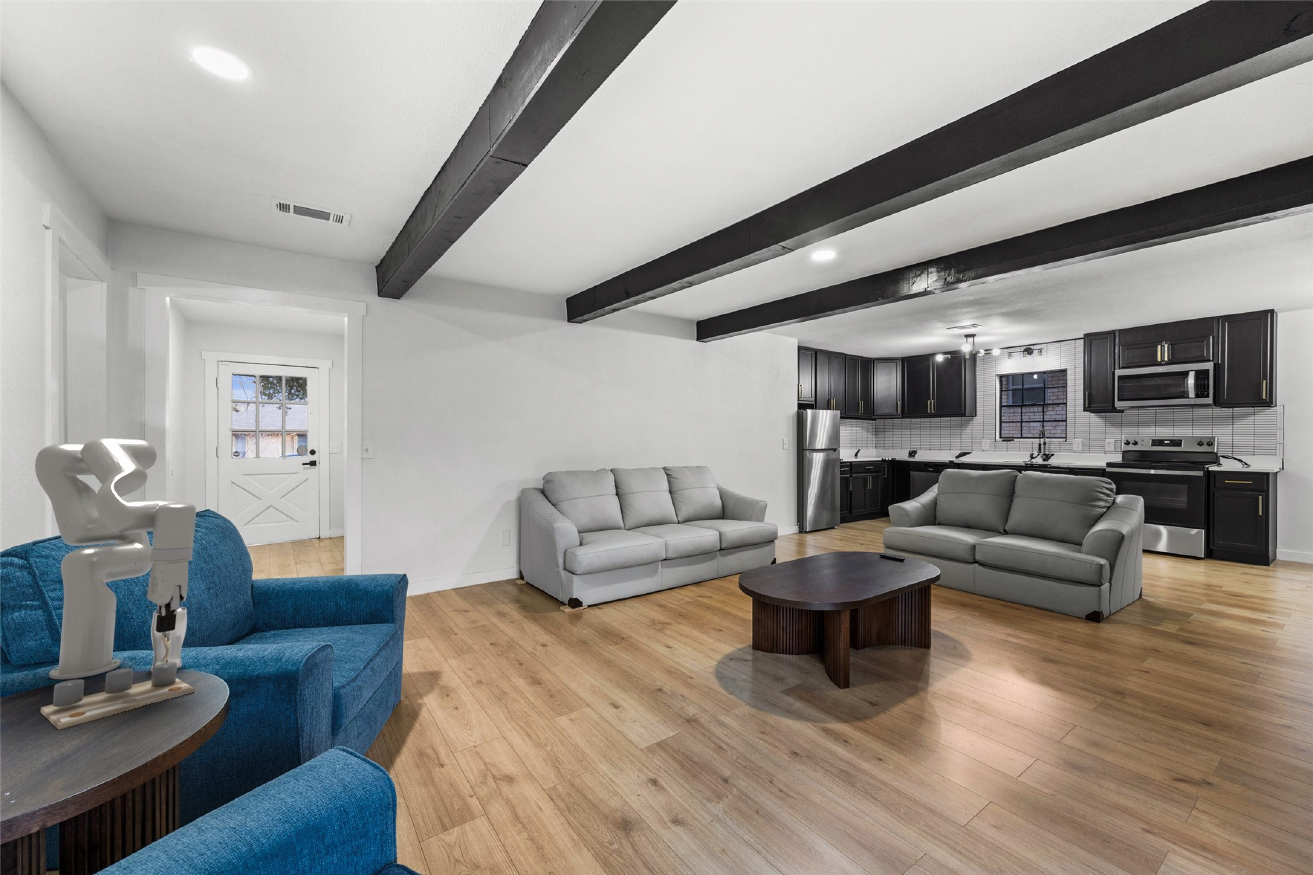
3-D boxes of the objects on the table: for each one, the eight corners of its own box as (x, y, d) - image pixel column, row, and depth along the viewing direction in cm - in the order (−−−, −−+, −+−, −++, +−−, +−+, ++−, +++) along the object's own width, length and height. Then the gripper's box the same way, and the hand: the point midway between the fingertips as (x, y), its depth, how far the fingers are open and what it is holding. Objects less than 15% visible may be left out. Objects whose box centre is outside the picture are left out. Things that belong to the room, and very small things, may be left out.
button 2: (148, 683, 130) (149, 666, 131) (171, 677, 134) (173, 661, 134) (155, 687, 128) (156, 670, 128) (178, 681, 132) (180, 664, 132)
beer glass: (162, 674, 139) (166, 614, 140) (141, 671, 140) (145, 612, 141) (190, 664, 146) (194, 607, 147) (170, 662, 147) (173, 605, 148)
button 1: (50, 703, 117) (51, 684, 117) (79, 696, 121) (80, 677, 121) (55, 708, 115) (57, 689, 115) (85, 701, 118) (86, 682, 119)
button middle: (102, 690, 124) (103, 672, 124) (128, 684, 127) (129, 666, 128) (108, 695, 121) (109, 676, 122) (134, 688, 125) (136, 670, 125)
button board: (40, 711, 118) (41, 704, 118) (171, 679, 136) (171, 673, 136) (58, 729, 110) (59, 722, 110) (194, 692, 129) (194, 686, 129)
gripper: (140, 552, 133) (133, 628, 133) (163, 560, 126) (156, 641, 125) (179, 548, 140) (173, 621, 139) (203, 556, 132) (197, 633, 131)
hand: (165, 630), depth 132 cm, fingers closed
